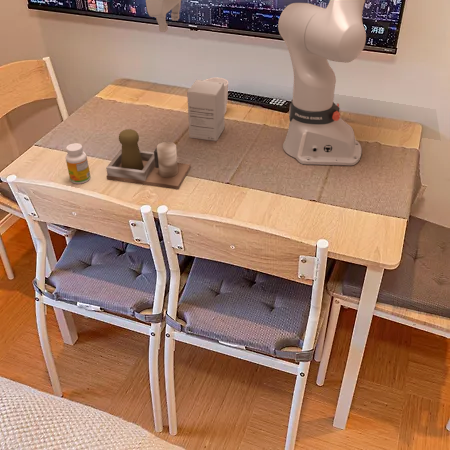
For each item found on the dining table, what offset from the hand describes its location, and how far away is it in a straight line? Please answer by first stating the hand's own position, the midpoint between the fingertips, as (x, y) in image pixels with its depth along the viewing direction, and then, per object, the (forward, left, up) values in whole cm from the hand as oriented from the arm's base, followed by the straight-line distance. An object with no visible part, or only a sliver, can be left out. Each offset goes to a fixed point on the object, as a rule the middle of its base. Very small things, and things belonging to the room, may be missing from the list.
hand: (169, 25), depth 136 cm
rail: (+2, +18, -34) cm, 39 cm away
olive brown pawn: (+7, +18, -33) cm, 38 cm away
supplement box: (-7, -8, -34) cm, 36 cm away
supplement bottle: (+19, +25, -34) cm, 46 cm away
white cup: (-6, -23, -34) cm, 42 cm away
